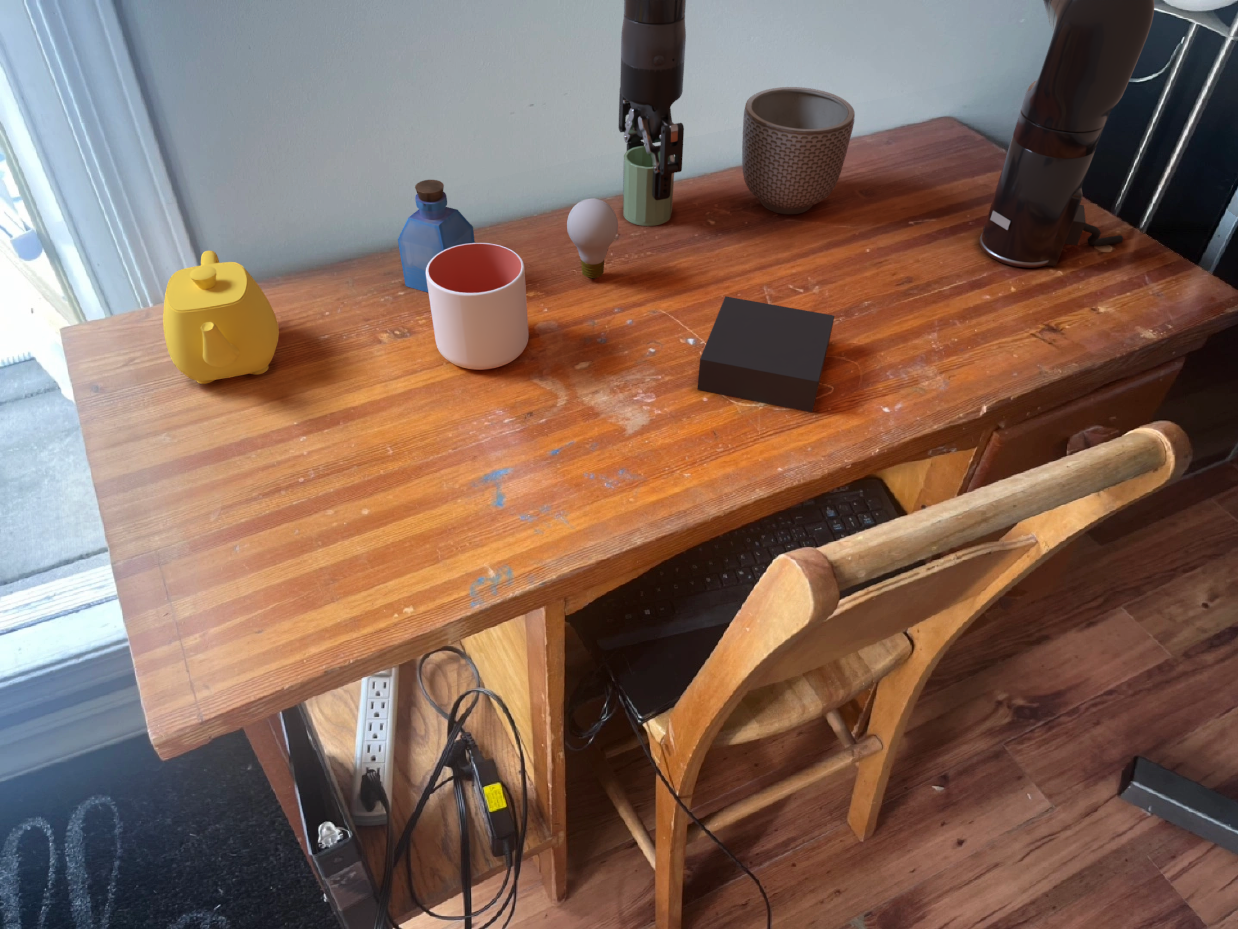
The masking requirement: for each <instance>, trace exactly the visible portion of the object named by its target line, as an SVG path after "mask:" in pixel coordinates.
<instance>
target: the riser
mask: <svg viewBox="0 0 1238 929" xmlns="http://www.w3.org/2000/svg"><path fill="white" fill-rule="evenodd" d="M834 320H835V315H833V314H827V313H823V312H822V313H821V312H816V311H810V310H806V309H800V308H794V307H788V306H783V305H782V306H781V305H778V304H771V303H766V302H760V301H754V300H749V299H745V298H743V299H742V298H737V297H732V296H725V297H724V299H723V301H722V303H721V306H720V309H719V312H718V314H717V316H716V317H715V321H714V323H713V326H712V329H711V331H710V333H709V336H708V339H707V341H706V342H705V345H704V348H703V351H702V353H701V356H700V358H699V364H698V365H699V368H698V378H697V391H703V392H707V393H713V394H716V395H723V396H727V397H732V398H737V399H743V400H748V401H753V402H756V403H757V402H758V403H763V404H768V405H773V406H777V407H782V408H788V409H793V410H798V411H802V412H808V413H813V412H814V407H815V403H816V399H817V395H818V391H819V387H820V383H821V378H822V374H823V370H824V367H825V362H826V358H827V354H828V349H829V346H830V342H831V337H832V336H831V335H832V330H833V326H834V322H835V321H834Z"/></svg>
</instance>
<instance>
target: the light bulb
mask: <svg viewBox="0 0 1238 929" xmlns="http://www.w3.org/2000/svg"><path fill="white" fill-rule="evenodd" d="M571 208H572V209H571V210H570V211H569V214H568V216H567V221H566V229H567V234H568V237H569V238H570V240H571V242H572V243H573V245H574V246H575V247H576V249H577V252H578V256H579V258H580V264H581V274H582V275H583V276H584V277H586V278H588V279H589V280H596V279H597V278H599V277H602V276H603V275H604V272H605V259H606V258H607V257H606V256H607V255H608V250H609V247H610V246H611V245H612V243H613V242H614V240H615V239H616V237H617V234H618V231H619V221H618V216H617V214H616V212H615V210H614V209H613V207H612V206H611V205H610V204H609V203H607V202H606V201H604V200H602V199H600V198H585V199H582V200H580V201H579V202H578V203H576V204H575V205H574V206H573V207H571Z"/></svg>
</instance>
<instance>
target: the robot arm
mask: <svg viewBox="0 0 1238 929" xmlns="http://www.w3.org/2000/svg"><path fill="white" fill-rule="evenodd" d="M1042 1H1043V4H1044V5H1043V6H1044V8H1045V12H1046V16H1047V20H1048V23H1049V26H1050V29H1051V31H1052V36H1051V39H1050V43H1049V46H1048V49H1047V52H1046V55H1045V58H1044V61H1043V64H1042V66H1041V69H1040V72H1039V75H1038V78H1037V79H1036V80H1035V81H1032V83H1031V84H1029V86H1028V88H1027V89H1026V91H1025V95H1024V98H1023V102H1022V105H1021V107H1020V111H1019V114H1018V117H1017V121H1016V124H1015V127H1014V130H1013V133H1012V137H1011V140H1010V142H1009V146H1008V150H1007V152H1006V156H1005V159H1004V162H1003V166H1002V168H1001V172H1000V175H999V178H998V182H997V185H996V188H995V191H994V193H993V197H992V201H991V205H990V208H989V210H988V213H987V217H986V220H985V223H984V226H983V230H982V232H981V234H980V237H979V239H978V240H979V241H978V244H979V248H980V249H981V250H982V252H983V253H984V254H986V256H988V257H990V258H991V259H993V260H995V261H997V262H999V263H1001V264H1005V265H1008V266H1011V267H1016V268H1025V269H1026V268H1027V269H1033V268H1035V269H1036V268H1042V267H1045V266H1048V267H1049V266H1050V267H1056V266H1057V265H1058V263H1059V260H1060V257H1061V255H1062V252H1063V249H1064V247H1065V245H1071V246H1078V244H1079V242H1080V239H1081V237H1082V234H1083V232H1086V233H1089V234H1090V235H1089V236H1088V237H1087V239H1086V240H1087V243H1088V245H1091V246H1093V247H1098V246H1100V247H1101V246H1108V245H1113V244H1121V243H1122V242H1123V241H1124V237H1123V235H1122V234H1119V235H1113V236H1107V237H1106V236H1105V237H1101V233H1102V232H1101V230H1100V229H1099V228H1098V227H1097V226H1095V225H1091V224H1090V223H1087V221H1086V214H1085V213H1086V211H1085V205H1084V204H1081V202H1082V199H1083V195H1084V194H1083V186H1084V185H1083V184H1084V182H1085V179H1086V177H1087V174H1088V171H1089V169H1090V166H1091V163H1092V161H1093V158H1094V155H1095V152H1096V150H1097V147H1098V144H1099V142H1100V139H1101V137H1102V135H1103V131H1104V128H1105V127H1106V124H1107V122H1108V119H1109V116H1110V114H1111V112H1112V110H1113V109H1115V107H1116V106H1117V105H1118V103H1119V102H1120V101H1121V99H1122V98H1123V95H1124V94H1125V91H1126V89H1127V88H1128V84H1129V82H1130V80H1131V78H1132V75H1133V72H1134V70H1135V68H1136V65H1137V63H1138V60H1139V59H1140V56H1141V53H1142V51H1143V49H1144V46H1145V44H1146V41H1147V39H1148V36H1149V33H1150V30H1151V27H1152V24H1153V19H1154V13H1155V0H1042ZM686 4H687V0H623V20H622V27H621V32H620V33H621V34H620V35H621V36H620V78H619V79H620V80H619V81H620V82H619V83H620V84H619V85H620V86H619V98H618V100H619V101H618V130H619V133H623V140H624V143H626V151H628V150H630V149H632V148H634V147H639V146H645V148H646V153H647V154H648V155H650V156H651V159H652V164H653V169H654V171H653V189H652V196H653V198H654V199H655V200H662V199H667V198H669V197H670V191H671V175H672V173H674V174H675V173H682V170H683V158H684V156H683V153H684V134H685V126H684V124H683V123H682V122H677V123H674V122H673V118H672V109H671V107H672V105H673V104H675V102H676V101H678V100H679V99H680V98H681V97H682V95H683V91H684V90H683V88H684V76H685V75H684V74H685V61H686V60H685V59H686V42H687V31H686V28H687V27H686ZM627 116H628V117H627ZM657 143H660V144H659V145H654V144H657ZM658 153H660V162H659V157H658ZM673 155H674V157H675V160H674V157H673Z"/></svg>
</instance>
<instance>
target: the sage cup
mask: <svg viewBox="0 0 1238 929" xmlns="http://www.w3.org/2000/svg"><path fill="white" fill-rule="evenodd" d="M658 157H659V162H660V153H658ZM673 157H674V160H675V155H673ZM622 168H623V169H622V171H623V172H622V174H623V175H622V176H623V177H622V178H623V179H622V180H623V181H622V215H623V218H624V219H625V220H626V221H627V222H629V223H631V224H633V225H636V226H640V227H641V226H642V227H654V226H659V225H662V224H665V223H667V222H668V221H670V219H671V217H672V212H673V202H674V201H673V199H674V183H675V182H674V181H675V173H672V175H671V191H670V197H669V198H667V199H662V200H655V199H654V198H653V196H652V189H653V171H654V169H653V164H652V159H651V156H650V155H648V154H647V153H646V148H645V145H644V146H639V147H634V148H632V149H630V150H628V151H627V150H626V151H625V152H624V153H623V167H622Z"/></svg>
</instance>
